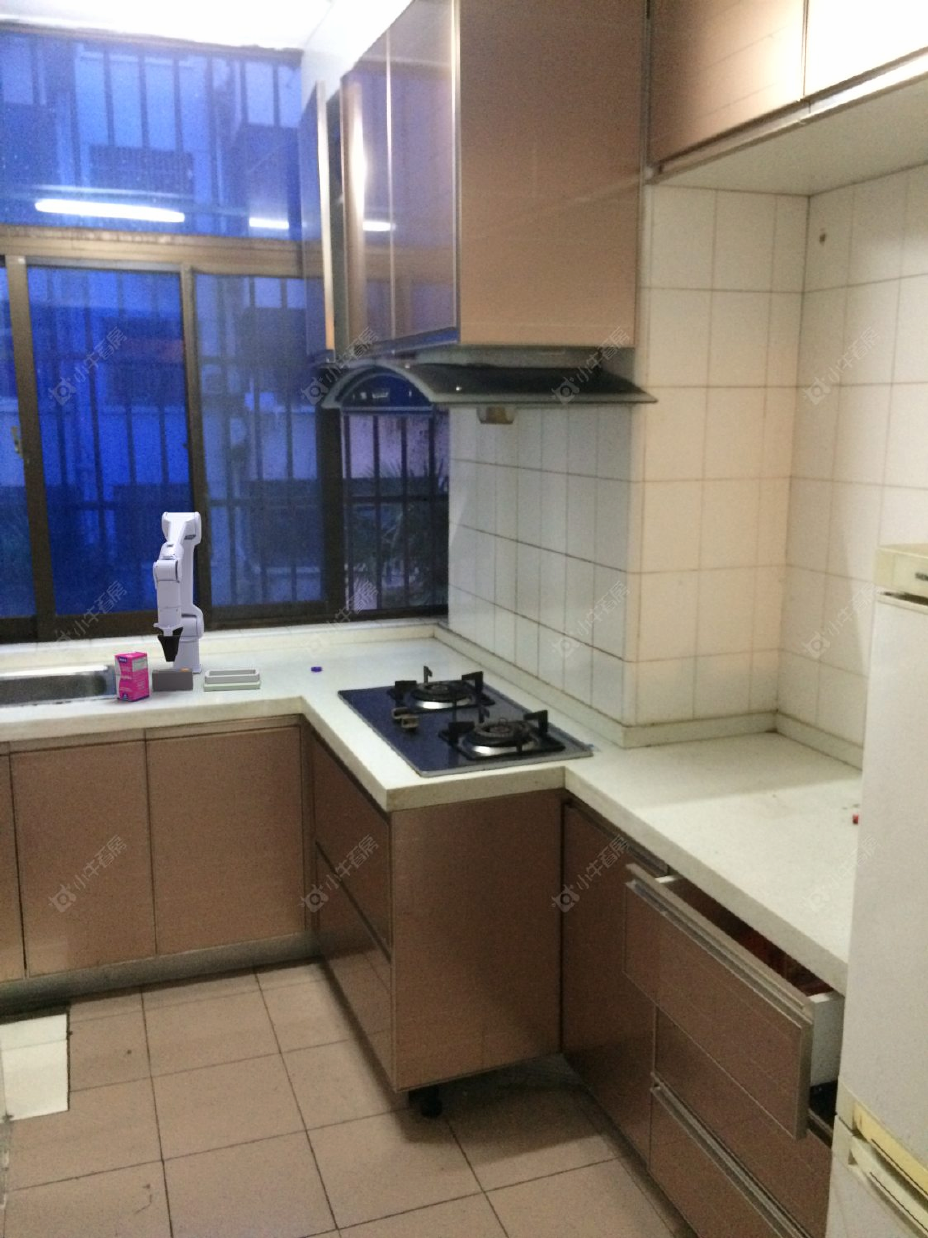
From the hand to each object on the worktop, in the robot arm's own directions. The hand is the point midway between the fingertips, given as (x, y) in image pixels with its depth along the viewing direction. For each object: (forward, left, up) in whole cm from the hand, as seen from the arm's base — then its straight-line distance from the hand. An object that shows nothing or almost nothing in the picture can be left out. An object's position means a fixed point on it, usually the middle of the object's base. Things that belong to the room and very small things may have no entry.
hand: (171, 658), depth 265 cm
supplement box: (+8, -9, -8) cm, 15 cm away
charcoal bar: (0, 0, -8) cm, 8 cm away
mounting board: (-3, +15, -8) cm, 17 cm away
